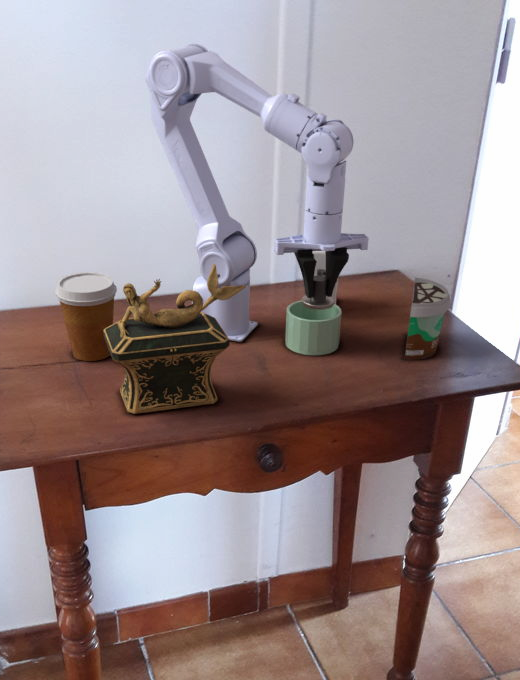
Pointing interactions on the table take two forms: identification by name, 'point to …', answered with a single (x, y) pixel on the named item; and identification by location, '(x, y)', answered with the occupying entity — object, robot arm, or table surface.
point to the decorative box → (168, 349)
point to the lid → (318, 295)
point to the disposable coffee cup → (87, 312)
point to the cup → (312, 329)
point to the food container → (426, 318)
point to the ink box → (323, 269)
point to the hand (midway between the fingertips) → (318, 295)
